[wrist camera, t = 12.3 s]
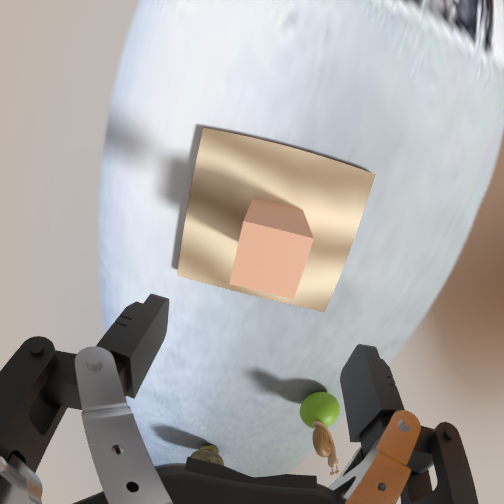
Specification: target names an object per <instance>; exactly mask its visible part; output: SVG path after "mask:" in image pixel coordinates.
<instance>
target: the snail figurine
mask: <svg viewBox="0 0 504 504" xmlns="http://www.w3.org/2000/svg"><path fill="white" fill-rule="evenodd" d="M338 415H339V403H338V401H337V399H336V398H335V397H334V396H333V395H331V394H329V393H327V392H315V393H313V394H310V395H309V396H307V397H306V398H305V399H304V401H303V402H302V404H301V407H300V416H301V419H302V421H303V422H304V423H305V424H306V425H307V426H309V427H311V428H315V430H314V432H313V445H314V448H315V450H316V452H317V454H318V455H319V456H321V457H328V465H329V466H330V467H335V466H336V467H337V463H338V461H337V458H336V450H335V446H334V442H333V439H332V435H331V433H330V432H329V430H328V428H327V427H328V426H330V425H331V424H333V423H334V422H335V420H336V419H337V417H338ZM335 473H336V474H338V473H339V470H336V471H335ZM330 474H331V475H334V472H333V471H332V472H331V473H330Z"/></svg>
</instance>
